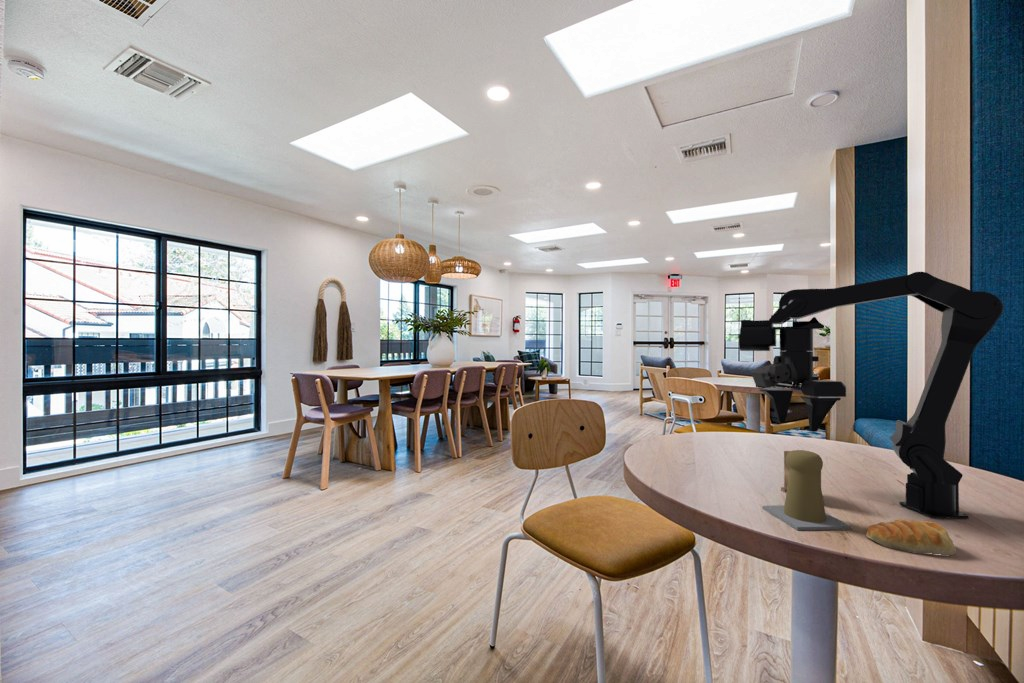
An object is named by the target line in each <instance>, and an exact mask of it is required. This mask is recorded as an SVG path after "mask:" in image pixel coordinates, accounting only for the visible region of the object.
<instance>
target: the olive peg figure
mask: <svg viewBox="0 0 1024 683" xmlns="http://www.w3.org/2000/svg"><path fill="white" fill-rule="evenodd" d="M789 451H790V452H789V453H788V454H787V456H786V462H787V465H788V467H789V468H790V472H789V479H788V485H787V492H785V499H784V500H785V501H784V504H783V505H784V513H785V514H786V515H787V516H789V517H791V518H794V519H797V520H801V521H806V522H813V523H820V522H825V521H826V514H825V513H826V508H825V504H824V502H823V500H824V497H823V496H824V495H823V491H822V483H821V484H820V477H819V472H820V471H821V472H822V470H823V467H824V461H823V459H822V457H821V455H819V454H818V453H816V452H813V451H809V450H802V449H795V450H789Z"/></svg>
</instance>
